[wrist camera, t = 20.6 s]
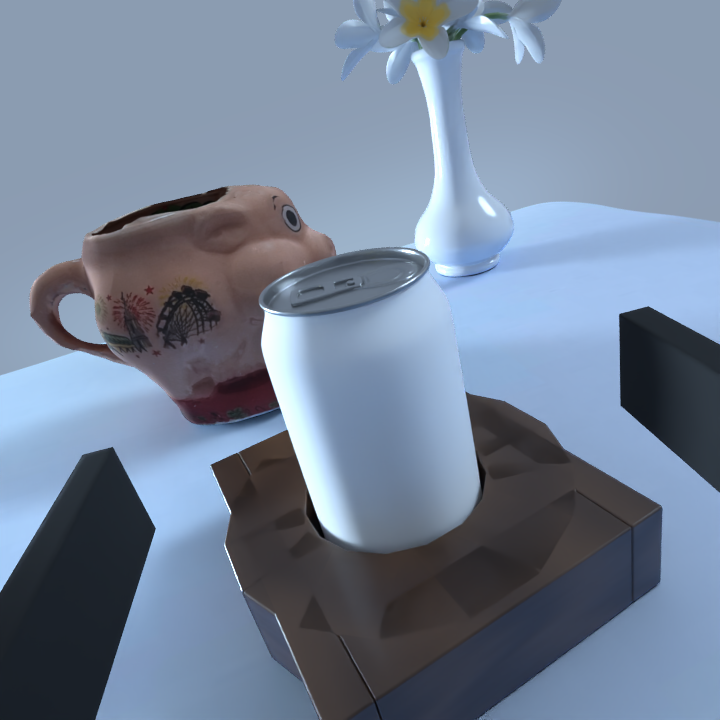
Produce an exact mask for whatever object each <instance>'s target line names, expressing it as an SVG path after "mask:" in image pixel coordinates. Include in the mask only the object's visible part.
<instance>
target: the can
mask: <svg viewBox="0 0 720 720" xmlns="http://www.w3.org/2000/svg"><path fill="white" fill-rule="evenodd" d="M429 266H430V260H429V257H428V256H427V255H426V254H425V253H423V252H421V251H419V250H415V249H411V248H401V247H386V248H374V249H367V250H360V251H355V252H349V253H345V254H340V255H336V256H333V257H329V258H326V259H322V260H319V261H316V262H313V263H310V264H308V265H305V266H302V267H300V268H298V269H295V270H293V271H291V272H289V273H287V274H285V275H283V276H281V277H280V278H278V279H276V280H275V281H273V282H272V283H271V284H269V285H268V286H267V287H266V288H265V289H264V290H263V291H262V293H261V294H260V297H259V304H260V306H261V308H262V309H263V310H264V311H265V318H264V325H263V331H262V340H261V347H262V352H263V356H264V360H265V363H266V366H267V369H268V373H269V376H270V379H271V382H272V385H273V388H274V391H275V394H276V397H277V400H278V403H279V406H280V408H281V411H282V414H283V417H284V420H285V423H286V426H287V429H288V432H289V435H290V438H291V441H292V444H293V447H294V450H295V453H296V456H297V458H298V461H299V464H300V467H301V470H302V473H303V476H304V479H305V482H306V485H307V488H308V491H309V493H310V496H311V499H312V502H313V505H314V508H315V511H316V514H317V517H318V520H319V522H320V525H321V528H322V531H323V534H324V537H325V539H326V540H328V541H330V542H332V543H333V544H335V545H337V546H339V547H341V548H343V549H345V550H347V551H358V552H370V553H381V554H388V553H393V552H397V551H401V550H406V549H410V548H414V547H419V546H423V545H427V544H429V543H430V542H432V541H434V540H436V539H437V538H439V537H441V536H442V535H444V534H446V533H447V532H449V531H451V530H453V529H454V528H456V527H458V526H459V525H461V524H463V523H464V521H465V520H466V519H467V518H468V516H469V515H470V514H471V512H472V511H473V510H474V509H475V507H476V506H477V505H478V504H479V502H480V501H481V500H482V490H481V484H480V478H479V472H478V465H477V459H476V453H475V447H474V441H473V435H472V429H471V423H470V417H469V411H468V405H467V398H466V392H465V386H464V380H463V375H462V369H461V363H460V357H459V351H458V345H457V339H456V334H455V328H454V322H453V317H452V312H451V308H450V304H449V301H448V298H447V297H446V295H445V293H444V292H443V290H442V289H441V288H440V286H439V285H438V284H437V282H436V281H435V280H434V278H433V277H432V275H431V274H430V272H429Z"/></svg>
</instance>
